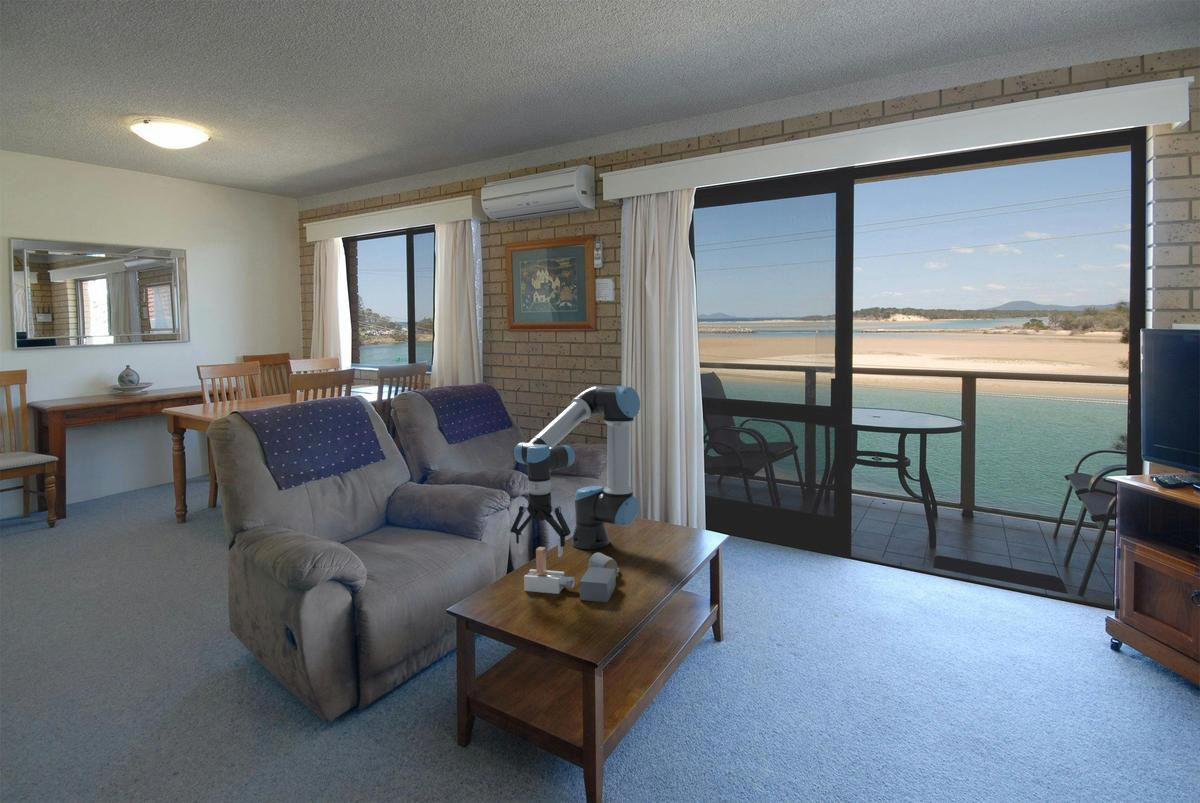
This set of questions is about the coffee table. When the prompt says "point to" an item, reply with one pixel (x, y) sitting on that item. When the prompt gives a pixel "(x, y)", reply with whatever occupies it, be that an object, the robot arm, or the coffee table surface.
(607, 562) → the ceramic mug
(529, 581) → the white channel cradle
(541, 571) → the silver peg with handle
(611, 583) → the socket block
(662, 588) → the coffee table surface
